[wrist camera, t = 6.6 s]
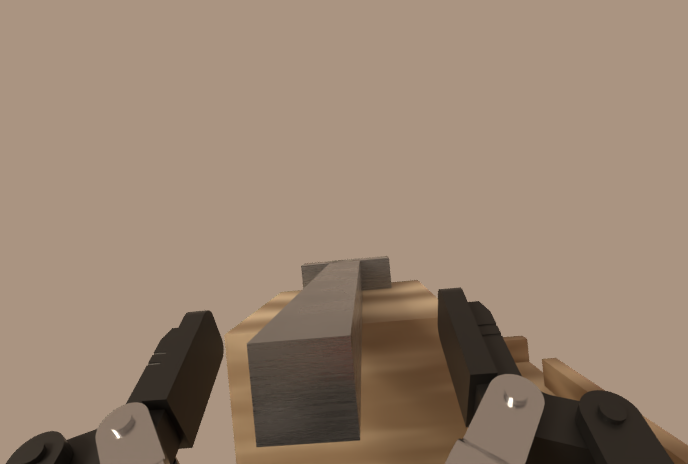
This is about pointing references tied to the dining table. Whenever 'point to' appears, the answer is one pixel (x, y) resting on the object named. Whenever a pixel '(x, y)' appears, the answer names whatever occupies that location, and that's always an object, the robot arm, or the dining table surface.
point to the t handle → (314, 357)
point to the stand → (394, 386)
